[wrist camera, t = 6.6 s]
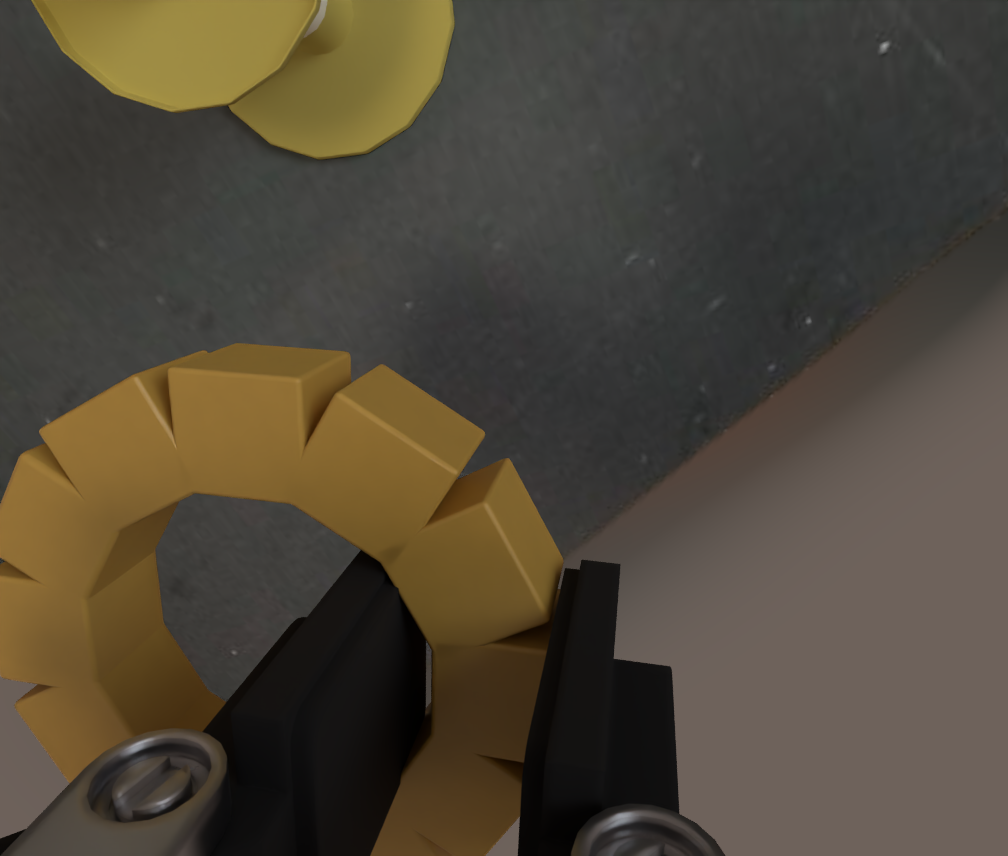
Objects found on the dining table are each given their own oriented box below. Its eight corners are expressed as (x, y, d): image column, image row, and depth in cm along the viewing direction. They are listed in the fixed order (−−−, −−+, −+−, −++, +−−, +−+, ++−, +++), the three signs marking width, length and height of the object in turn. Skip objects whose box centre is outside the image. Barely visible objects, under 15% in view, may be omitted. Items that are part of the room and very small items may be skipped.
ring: (683, 561, 10) (689, 624, 9) (400, 898, 13) (367, 991, 11) (183, 230, 10) (101, 236, 8) (5, 641, 13) (-81, 701, 11)
